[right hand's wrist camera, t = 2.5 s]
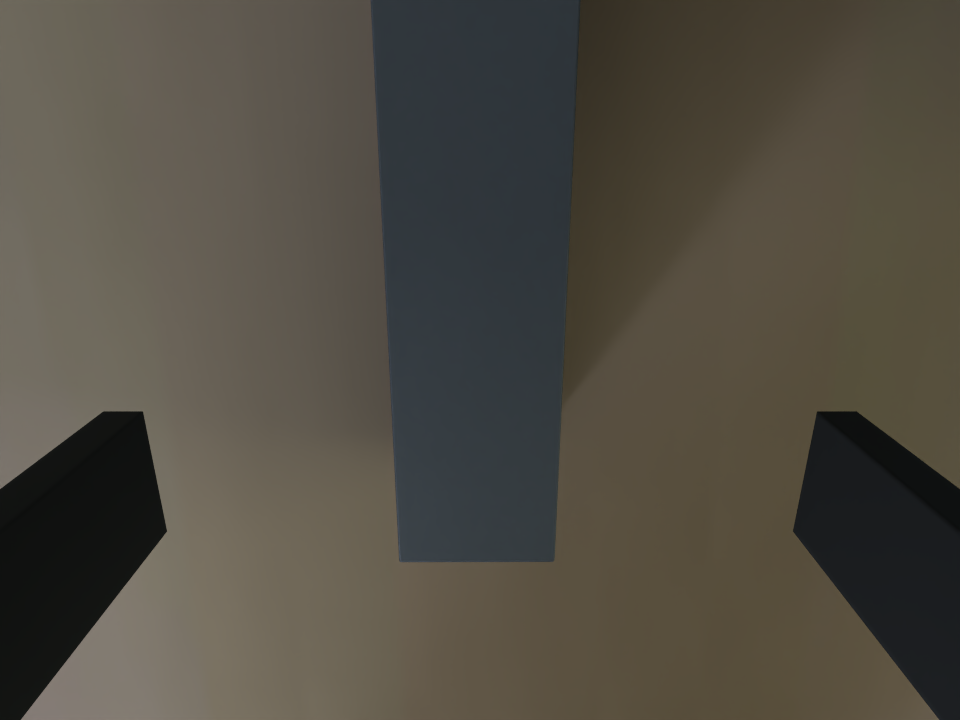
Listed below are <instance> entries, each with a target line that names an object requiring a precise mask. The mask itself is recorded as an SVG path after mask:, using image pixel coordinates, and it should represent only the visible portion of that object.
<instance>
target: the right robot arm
mask: <svg viewBox="0 0 960 720" xmlns="http://www.w3.org/2000/svg"><path fill="white" fill-rule="evenodd" d="M166 532H167V529H166V524H165V519H164V514H163V509H162V504H161V499H160V495H159V490H158V485H157V480H156V475H155V470H154V465H153V460H152V455H151V450H150V445H149V440H148V435H147V430H146V425H145V420H144V415H143V412H102V413H101V414H100V415H98V416H97V417H96V418H94V419H93V420H92V421H90V422H89V423H88V424H86V425H85V426H84V427H82V428H81V429H80V430H78V431H77V432H76V433H74V434H73V435H72V436H70V437H69V438H68V439H66V440H65V441H64V442H62V443H61V444H60V445H58V446H57V447H56V448H54V449H53V450H52V451H50V452H49V453H48V454H46V455H45V456H44V457H42V458H41V459H40V460H38V461H37V462H36V463H34V464H33V465H32V466H30V467H29V468H28V469H26V470H25V471H24V472H22V473H21V474H20V475H18V476H17V477H16V478H14V479H13V480H12V481H10V482H9V483H8V484H7V485H5V486H4V487H3V488H1V489H0V720H21V719H22V717H23V716H24V715H25V713H26V712H27V711H28V710H29V708H30V707H31V706H32V704H33V703H34V702H35V701H36V699H37V698H38V697H39V695H40V694H41V693H42V692H43V690H44V689H45V688H46V686H47V685H48V684H49V683H50V681H51V680H52V679H53V677H54V676H55V675H56V674H57V672H58V671H59V670H60V668H61V667H62V666H63V665H64V663H65V662H66V661H67V659H68V658H69V657H70V656H71V654H72V653H73V652H74V650H75V649H76V648H77V647H78V645H79V644H80V643H81V641H82V640H83V639H84V637H85V636H86V635H87V634H88V632H89V631H90V630H91V628H92V627H93V626H94V625H95V623H96V622H97V621H98V619H99V618H100V617H101V616H102V614H103V613H104V612H105V610H106V609H107V608H108V607H109V605H110V604H111V603H112V601H113V600H114V599H115V598H116V596H117V595H118V594H119V592H120V591H121V590H122V589H123V587H124V586H125V585H126V583H127V582H128V581H129V580H130V578H131V577H132V576H133V574H134V573H135V572H136V571H137V569H138V568H139V567H140V565H141V564H142V563H143V562H144V560H145V559H146V558H147V556H148V555H149V554H150V553H151V551H152V550H153V549H154V547H155V546H156V545H157V544H158V542H159V541H160V540H161V538H162V537H163V536H164V534H165V533H166ZM793 532H794V533H795V534H796V536H797V537H798V538H799V540H800V541H801V542H802V544H803V545H804V546H805V547H806V549H807V550H808V551H809V553H810V554H811V555H812V556H813V558H814V559H815V560H816V562H817V563H818V564H819V565H820V567H821V568H822V569H823V571H824V572H825V573H826V574H827V576H828V577H829V578H830V580H831V581H832V582H833V583H834V585H835V586H836V587H837V589H838V590H839V591H840V592H841V594H842V595H843V596H844V598H845V599H846V600H847V601H848V603H849V604H850V605H851V607H852V608H853V609H854V610H855V612H856V613H857V614H858V616H859V617H860V618H861V619H862V621H863V622H864V623H865V625H866V626H867V627H868V628H869V630H870V631H871V632H872V634H873V635H874V636H875V637H876V639H877V640H878V641H879V643H880V644H881V645H882V647H883V648H884V649H885V650H886V652H887V653H888V654H889V656H890V657H891V658H892V659H893V661H894V662H895V663H896V665H897V666H898V667H899V668H900V670H901V671H902V672H903V674H904V675H905V676H906V677H907V679H908V680H909V681H910V683H911V684H912V685H913V686H914V688H915V689H916V690H917V692H918V693H919V694H920V695H921V697H922V698H923V699H924V701H925V702H926V703H927V704H928V706H929V707H930V708H931V710H932V711H933V712H934V713H935V715H936V716H937V717H938V719H939V720H960V489H959V488H957V487H956V486H955V485H953V484H952V483H951V482H950V481H948V480H947V479H946V478H944V477H943V476H942V475H940V474H939V473H938V472H936V471H935V470H934V469H932V468H931V467H930V466H928V465H927V464H926V463H924V462H923V461H922V460H920V459H919V458H918V457H916V456H915V455H914V454H912V453H911V452H910V451H908V450H907V449H906V448H904V447H903V446H902V445H900V444H899V443H898V442H896V441H895V440H894V439H892V438H891V437H890V436H888V435H887V434H886V433H884V432H883V431H882V430H880V429H879V428H878V427H876V426H875V425H874V424H872V423H871V422H870V421H868V420H867V419H866V418H864V417H863V416H862V415H860V414H859V413H858V412H817V415H816V420H815V425H814V430H813V435H812V440H811V445H810V450H809V455H808V460H807V465H806V470H805V475H804V480H803V485H802V490H801V495H800V499H799V504H798V509H797V514H796V519H795V524H794V529H793Z"/></svg>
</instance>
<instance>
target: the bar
mask: <svg viewBox="0 0 960 720" xmlns="http://www.w3.org/2000/svg"><path fill="white" fill-rule="evenodd" d="M371 14H372V33H373V53H374V73H375V92H376V112H377V132H378V151H379V171H380V191H381V210H382V230H383V250H384V269H385V289H386V309H387V328H388V348H389V368H390V387H391V407H392V427H393V446H394V466H395V486H396V505H397V525H398V545H399V560H400V562H553V561H554V558H555V537H556V515H557V494H558V472H559V451H560V429H561V408H562V386H563V365H564V343H565V322H566V300H567V279H568V257H569V236H570V214H571V193H572V171H573V150H574V128H575V106H576V85H577V63H578V42H579V20H580V0H371Z"/></svg>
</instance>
